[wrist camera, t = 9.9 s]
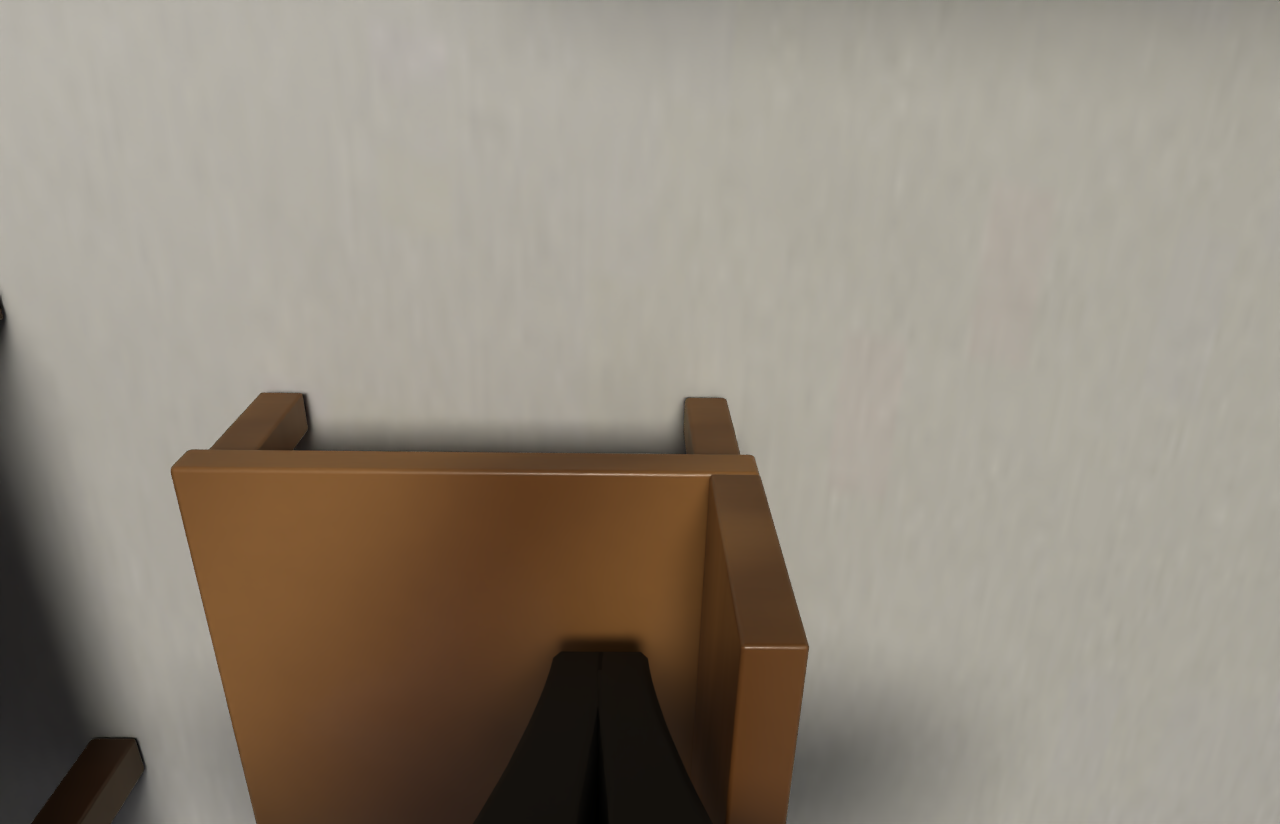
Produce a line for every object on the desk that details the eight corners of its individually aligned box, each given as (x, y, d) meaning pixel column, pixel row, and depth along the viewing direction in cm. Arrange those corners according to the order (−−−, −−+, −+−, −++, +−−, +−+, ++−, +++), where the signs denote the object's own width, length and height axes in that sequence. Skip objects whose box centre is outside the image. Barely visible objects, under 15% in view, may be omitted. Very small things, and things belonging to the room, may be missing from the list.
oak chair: (736, 388, 14) (810, 646, 9) (712, 706, 17) (756, 1054, 12) (249, 382, 14) (-3, 643, 8) (310, 706, 17) (155, 1058, 12)
